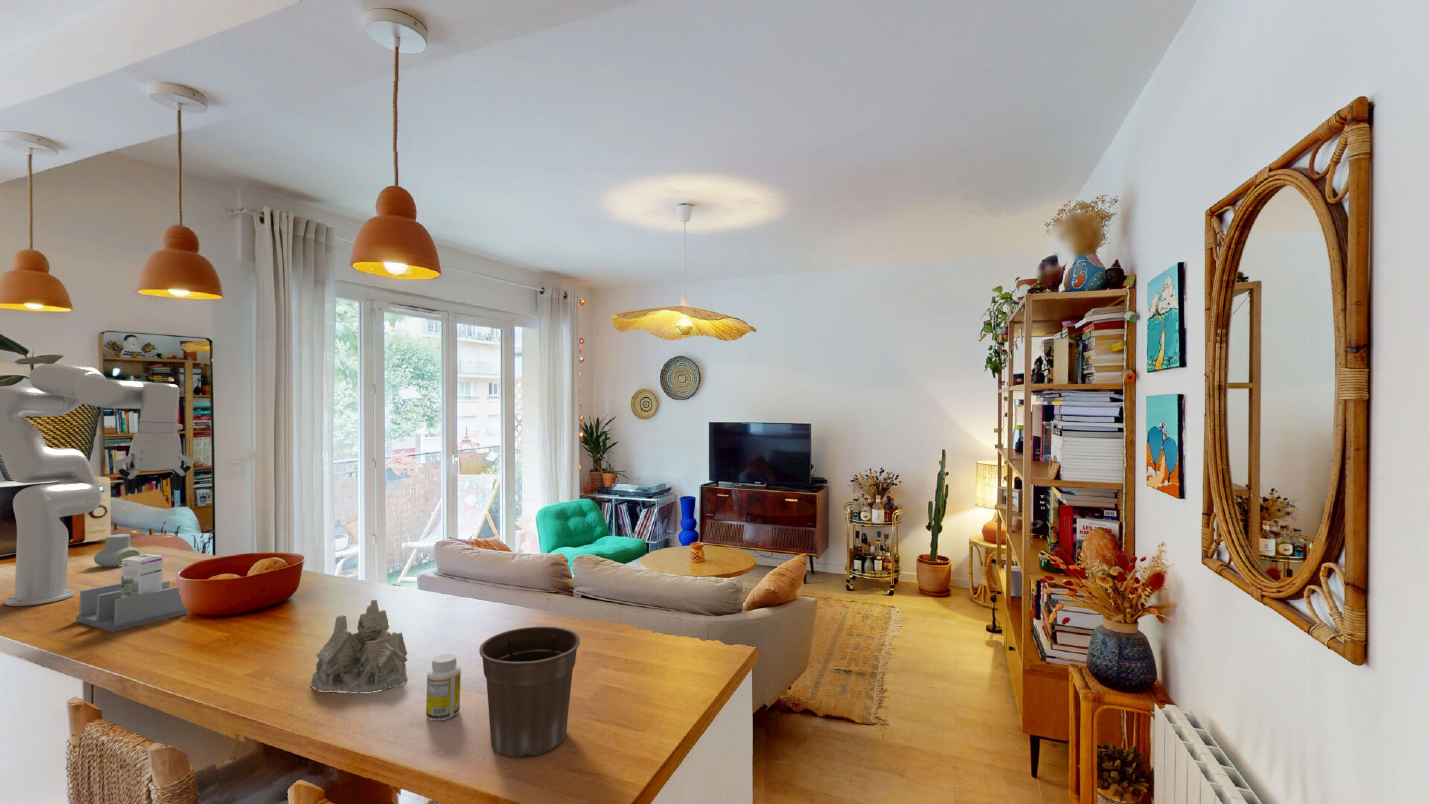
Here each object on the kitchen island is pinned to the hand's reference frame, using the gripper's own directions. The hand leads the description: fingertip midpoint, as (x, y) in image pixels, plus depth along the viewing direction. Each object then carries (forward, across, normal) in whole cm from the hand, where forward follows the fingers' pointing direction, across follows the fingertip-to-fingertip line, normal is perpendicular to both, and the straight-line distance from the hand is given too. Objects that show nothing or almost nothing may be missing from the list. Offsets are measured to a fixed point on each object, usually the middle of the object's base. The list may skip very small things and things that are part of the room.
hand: (153, 491), depth 162 cm
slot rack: (+31, +6, +8) cm, 32 cm away
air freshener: (+33, -17, -59) cm, 70 cm away
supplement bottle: (+28, +6, +118) cm, 121 cm away
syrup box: (+29, +6, +12) cm, 32 cm away
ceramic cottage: (+28, +4, +92) cm, 96 cm away
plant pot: (+27, +6, +136) cm, 139 cm away
